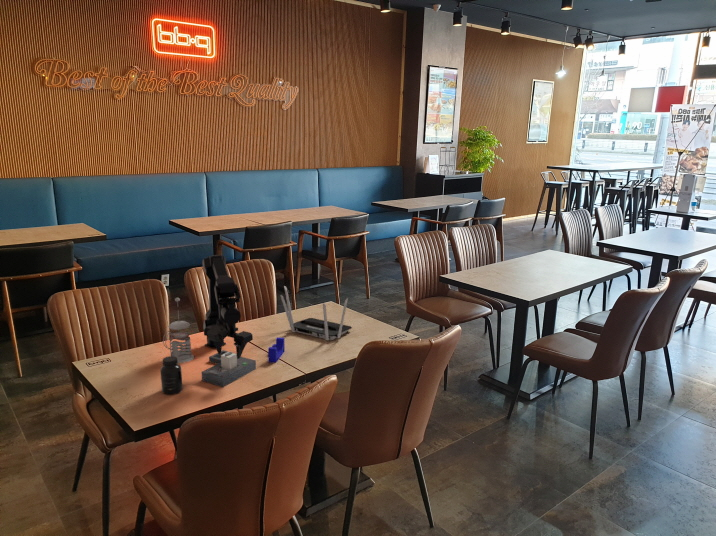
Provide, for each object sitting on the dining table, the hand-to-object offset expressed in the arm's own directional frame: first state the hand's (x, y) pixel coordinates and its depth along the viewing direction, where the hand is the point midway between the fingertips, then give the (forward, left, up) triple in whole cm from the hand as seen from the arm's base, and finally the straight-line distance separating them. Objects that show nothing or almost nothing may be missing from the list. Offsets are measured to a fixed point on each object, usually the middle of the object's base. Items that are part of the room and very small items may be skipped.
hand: (228, 356), depth 203 cm
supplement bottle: (-8, -20, -8) cm, 23 cm away
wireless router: (+4, +53, -8) cm, 54 cm away
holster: (-11, +9, -8) cm, 16 cm away
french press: (-27, +1, -8) cm, 28 cm away
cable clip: (+3, +23, -8) cm, 24 cm away
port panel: (0, 0, -8) cm, 8 cm away
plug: (0, 0, -8) cm, 8 cm away
